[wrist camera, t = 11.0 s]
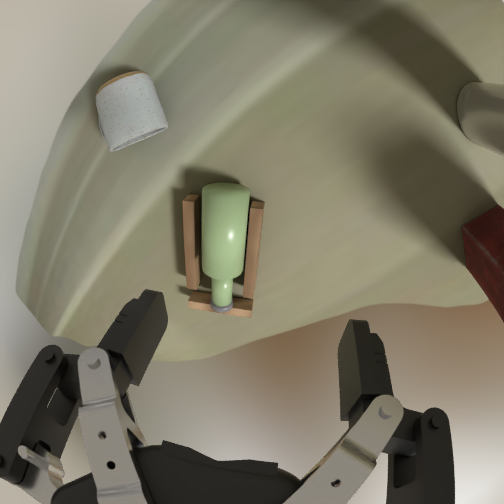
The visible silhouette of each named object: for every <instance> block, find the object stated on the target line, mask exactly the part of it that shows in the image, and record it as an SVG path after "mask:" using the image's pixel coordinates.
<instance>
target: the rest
mask: <svg viewBox="0 0 504 504" xmlns="http://www.w3.org/2000/svg"><path fill="white" fill-rule="evenodd" d="M263 211H264V202H260V201H252V204H251V207H250V218H249V229H248V241H247V253H246V265H245V277H244V289H243V297H244V298H252V299H253V296H254V290H255V283H256V274H257V265H258V256H259V247H260V238H261V229H262V220H263ZM183 231H184V251H185V267H186V281H187V289H193V290H197V288H198V286H199V283H200V281H201V267H200V195H194V194H188V196H187V197H186V198H185V199H184V200H183ZM211 296H212V294H209V293H203V292H197V291H192V293H191V295H190V298H189V300H188V305H189V308H193V309H199V310H205V311H211V312H216V311H214V310H213V309H212V308H211V306H210V298H211ZM232 298H233V307H232V309H231V310H229V311H228V312H224V313H223V314H229V315H236V316H243V317H250V318H251V314H252V308H253V300H249V299H242V298H235V297H232ZM217 313H220V312H217Z"/></svg>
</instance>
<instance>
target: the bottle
mask: <svg viewBox="0 0 504 504" xmlns="http://www.w3.org/2000/svg"><path fill="white" fill-rule="evenodd" d="M249 197H250V190H249V189H248V188H247V187H245V186H243V185H240V184H235V183H226V182H220V183H212V184H208V185H206V186H204V187H203V188H202V270H203V272H204V273H205V274H206V275H207V276H209V277H211V278H212V296H211V298H210V306H211V308H212V309H213V310H214V311H216V312H220V313H224V312H228V311H229V310H231V309H232V307H233V298H232V286H233V278H235V277H237V276H239V275H240V274H241V273H242V271H243V265H244V253H245V242H246V230H247V219H248V208H249Z"/></svg>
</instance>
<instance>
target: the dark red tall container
mask: <svg viewBox="0 0 504 504" xmlns="http://www.w3.org/2000/svg"><path fill="white" fill-rule="evenodd" d="M461 229H462V236H463V243H464V250H465V259H466V268H467V269H468V270H469V272H470V273H471V274H472V276H473V277H474V278H475V280H476V281H477V282H478V284H479V285H480V287H481V288H482V289H483V291H484V292H485V294H486V295H487V297H488V298H489V300H490V301H491V303H492V304H493V306H494V307H495V309H496V310H497V312H498V314H499V315H500V317H501V319H502V320H503V322H504V209H503V208H502V207H501V206H499V205H497V206H495V207H494V208H492V209H490V210H489V211H487V212H485V213H483V214H482V215H480V216H478V217H477V218H475V219H473V220H471V221H470V222H468V223H466V224H464V225H463V226H462V227H461Z"/></svg>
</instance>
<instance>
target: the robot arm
mask: <svg viewBox="0 0 504 504" xmlns="http://www.w3.org/2000/svg"><path fill="white" fill-rule="evenodd" d="M457 115H458V120H459V123H460V126H461V128H462V130H463V132H464V134H465V135H466V136H467V138H468V139H469V140H470V141H472V142H473V143H475V144H477V145H479V146H482V147H484V148H486V149H489V150H491V151H493V152H495V153H498V154H500V155H502V156H504V85H503V84H493V83H479V82H471V83H468V84H466V85H465V86H464V87H463V88H462V89H461V91H460V93H459V96H458V100H457ZM167 323H168V315H167V311H166V306H165V301H164V296H163V293H162V292H158V291H153V290H148V289H146V290H144V291H143V293H142V294H141V296H140V297H139V299H135V298H134V299H132V300H131V301H130V302H128V303H127V304H126V305H125V306H124V307H123V309H122V310H121V311H120V313H119V315H118V316H117V317H116V319H115V322H113V323H112V325H111V326H110V328H109V329H108V331H107V332H106V334H105V335H104V337H103V339H102V340H101V342H100V343H99V345H98V346H97V347H96V348H90V349H87V350H86V351H84V352H83V353H82V354H81V355H73V354H64V353H63V351H62V350H61V348H60V347H58V346H56V345H48V346H46V347H44V348H43V349H42V350H41V351H40V352H39V354H38V355H37V357H36V359H35V360H34V362H33V363H32V365H31V367H30V368H29V370H28V372H27V373H26V375H25V377H24V379H23V380H22V382H21V384H20V386H19V388H18V389H17V391H16V393H15V395H14V397H13V399H12V401H11V402H10V405H9V406H8V408H7V410H6V412H5V415H4V417H3V419H2V421H1V423H0V478H2V479H4V480H6V481H8V482H9V483H11V484H13V485H15V486H17V487H20V488H21V489H23V490H24V491H25V492H27V493H28V494H29V495H30V496H32V497H33V498H35V499H36V500H37V501H39V502H40V503H42V504H346V503H347V502H348V501H349V500H350V499H351V497H352V496H353V495H354V494H355V493H356V491H357V490H358V489H359V488H360V487H361V485H362V484H363V483H364V481H365V480H366V479H367V478H368V476H369V475H370V473H371V472H372V471H373V469H374V468H375V466H376V459H377V458H378V456H379V454H380V453H381V452H383V453H387V454H388V483H387V484H388V485H387V500H386V504H455V478H454V461H453V449H452V441H451V433H450V425H449V419H448V417H447V415H446V413H445V412H444V411H443V410H441V409H439V408H430V409H428V410H426V411H425V412H424V413H420V412H417V411H413V410H408V409H406V408H404V407H403V406H402V404H401V403H400V401H399V400H398V399H397V398H395V397H394V395H393V391H392V385H391V379H390V374H389V369H388V364H387V359H386V355H385V349H384V345H383V342H382V341H381V339H380V338H379V336H378V335H377V334H376V333H370V329H369V324H368V322H367V321H365V320H353V319H350V320H349V322H348V323H347V326H346V328H345V331H344V333H343V336H342V338H341V340H340V343H339V347H338V366H339V367H338V368H339V387H340V413H341V414H340V417H341V421H349V428H348V429H347V430H346V432H345V433H344V434H343V435H342V436H341V438H340V439H339V440H338V441H337V442H336V444H335V445H334V446H333V447H332V448H331V449H330V450H329V451H328V453H327V454H326V455H325V456H324V457H323V458H322V459H321V460H320V461H319V462H318V463H317V464H316V465H315V466H314V467H313V468H312V469H311V470H310V471H309V472H308V473H307V474H306V475H305V476H304V477H303V478H302V479H301V480H299V479H298V478H297V477H296V476H294V475H292V474H291V473H289V472H287V471H285V470H283V469H280V468H278V463H274V462H264V461H256V460H235V461H234V460H233V461H217V460H214V459H212V458H210V457H207V456H205V455H203V454H201V453H199V452H197V451H195V450H193V449H191V448H189V447H185V446H182V445H178V444H175V443H171V442H168V441H164V440H163V442H162V445H151V446H148V445H147V442H146V440H145V437H144V435H143V433H142V432H141V430H140V428H139V425H138V422H137V419H136V416H135V413H134V410H133V407H132V403H131V400H130V396H129V393H128V390H127V389H128V387H129V385H130V383H131V384H134V385H137V386H139V384H140V382H141V380H142V378H143V375H144V373H145V371H146V369H147V367H148V365H149V363H150V361H151V359H152V357H153V355H154V353H155V350H156V348H157V346H158V344H159V342H160V340H161V338H162V336H163V334H164V332H165V330H166V328H167ZM56 388H57V390H56V391H55V389H56ZM54 391H55V394H54V395H53V393H54ZM52 395H53V397H52ZM51 397H52V400H51V401H50V399H51ZM49 401H50V403H49ZM48 403H49V405H48ZM47 405H48V408H47ZM78 413H79V420H80V425H81V430H82V435H83V440H84V444H85V448H86V452H87V456H88V460H89V464H90V467H91V471H92V472H91V473H89V474H87V475H85V476H83V477H81V478H78V479H76V480H74V481H72V482H69V483H67V484H65V485H64V484H63V482H62V478H63V477H64V475H65V472H64V470H63V467H62V463H61V461H60V458H61V455H62V452H63V450H64V447H65V444H66V442H67V439H68V437H69V435H70V432H71V430H72V427H73V425H74V423H75V420H76V418H77V416H78Z"/></svg>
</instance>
